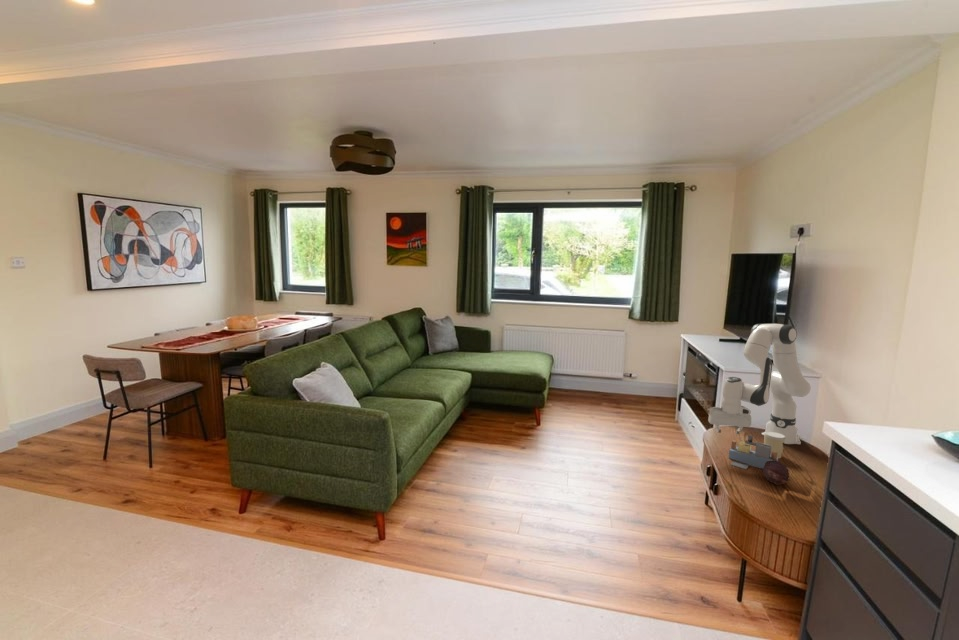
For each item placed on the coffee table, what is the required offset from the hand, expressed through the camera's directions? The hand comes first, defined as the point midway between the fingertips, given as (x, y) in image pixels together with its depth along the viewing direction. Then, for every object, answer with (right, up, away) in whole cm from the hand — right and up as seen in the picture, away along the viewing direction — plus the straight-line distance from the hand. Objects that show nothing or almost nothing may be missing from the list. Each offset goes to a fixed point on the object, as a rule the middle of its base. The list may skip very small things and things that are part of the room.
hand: (728, 433), depth 223 cm
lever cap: (+6, -8, -5) cm, 11 cm away
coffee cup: (+25, -13, +2) cm, 29 cm away
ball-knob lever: (+9, -4, -8) cm, 13 cm away
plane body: (+9, -14, -7) cm, 17 cm away
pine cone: (+6, -16, -26) cm, 31 cm away
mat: (0, -14, -10) cm, 17 cm away
